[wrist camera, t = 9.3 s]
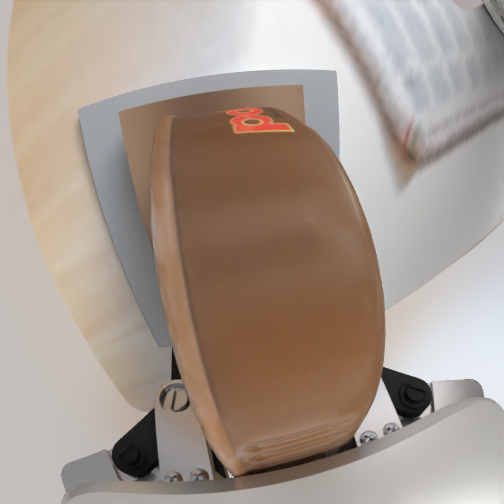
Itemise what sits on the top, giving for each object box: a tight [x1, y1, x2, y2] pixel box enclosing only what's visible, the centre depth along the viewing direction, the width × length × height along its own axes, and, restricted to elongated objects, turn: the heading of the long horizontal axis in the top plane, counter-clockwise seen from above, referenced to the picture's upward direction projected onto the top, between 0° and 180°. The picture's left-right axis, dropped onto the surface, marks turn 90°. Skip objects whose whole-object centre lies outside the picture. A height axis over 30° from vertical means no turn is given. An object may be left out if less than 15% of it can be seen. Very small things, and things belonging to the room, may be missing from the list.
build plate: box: [78, 70, 339, 347], centre depth 17 cm, size 14×18×1 cm
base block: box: [118, 85, 305, 254], centre depth 15 cm, size 7×16×4 cm, turn 6°
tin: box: [149, 107, 385, 477], centre depth 8 cm, size 15×3×8 cm, turn 5°
